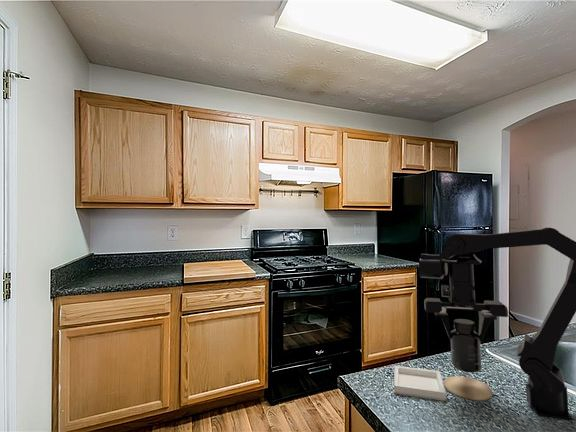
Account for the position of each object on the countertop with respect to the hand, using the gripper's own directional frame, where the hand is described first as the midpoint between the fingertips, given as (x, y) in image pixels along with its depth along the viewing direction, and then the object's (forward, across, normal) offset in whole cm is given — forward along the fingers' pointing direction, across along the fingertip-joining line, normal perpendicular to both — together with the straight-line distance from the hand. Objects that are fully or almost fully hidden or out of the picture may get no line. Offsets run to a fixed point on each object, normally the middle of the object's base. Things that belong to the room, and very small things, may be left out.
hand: (465, 339), depth 80 cm
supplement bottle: (+7, 0, 0) cm, 7 cm away
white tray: (+13, +12, +2) cm, 18 cm away
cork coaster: (+13, 0, 0) cm, 13 cm away
